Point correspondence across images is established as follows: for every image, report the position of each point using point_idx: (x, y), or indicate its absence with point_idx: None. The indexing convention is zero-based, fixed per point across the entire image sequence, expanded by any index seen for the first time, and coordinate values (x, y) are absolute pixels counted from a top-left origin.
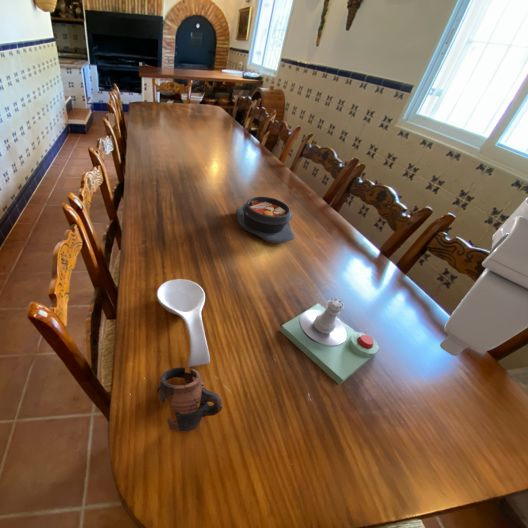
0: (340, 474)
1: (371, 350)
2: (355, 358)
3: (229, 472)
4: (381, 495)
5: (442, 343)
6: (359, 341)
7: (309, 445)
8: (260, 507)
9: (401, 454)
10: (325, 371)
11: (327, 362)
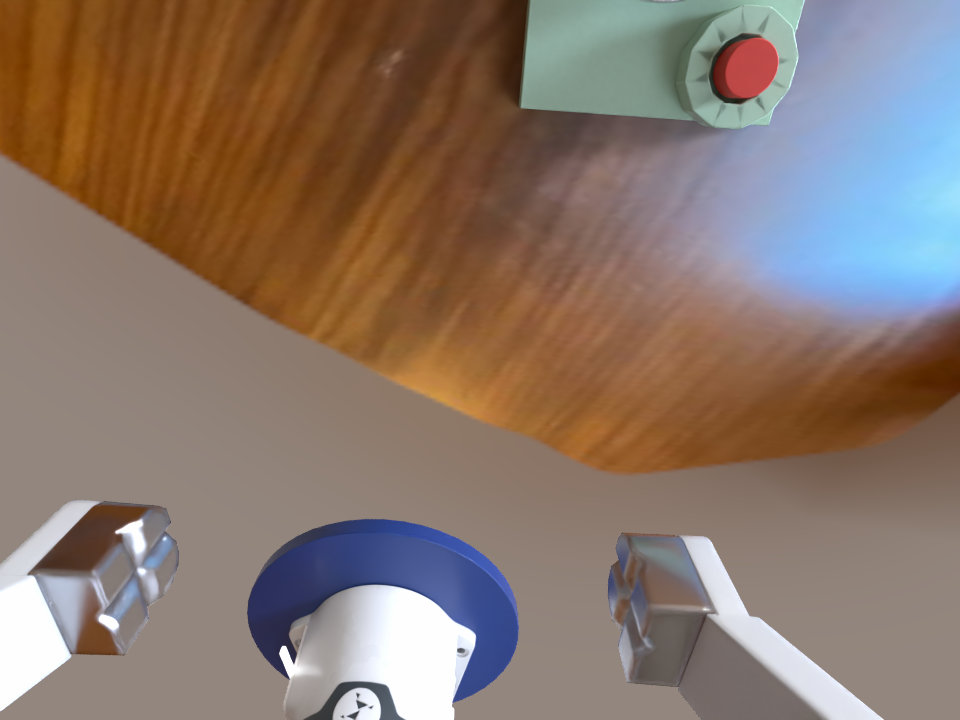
0: (294, 246)
1: (718, 109)
2: (650, 85)
3: (11, 55)
4: (344, 322)
5: (51, 520)
6: (727, 50)
7: (274, 157)
8: (59, 165)
9: (469, 316)
10: (524, 39)
11: (542, 19)
